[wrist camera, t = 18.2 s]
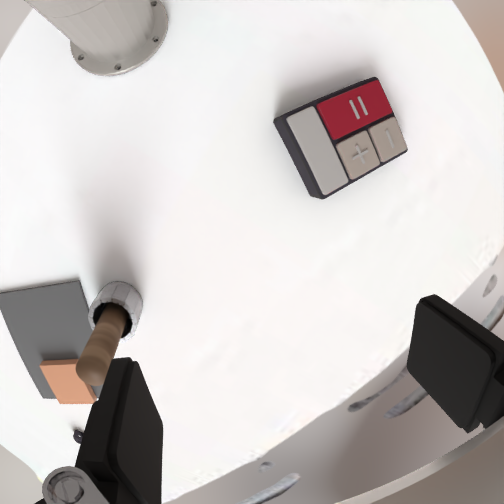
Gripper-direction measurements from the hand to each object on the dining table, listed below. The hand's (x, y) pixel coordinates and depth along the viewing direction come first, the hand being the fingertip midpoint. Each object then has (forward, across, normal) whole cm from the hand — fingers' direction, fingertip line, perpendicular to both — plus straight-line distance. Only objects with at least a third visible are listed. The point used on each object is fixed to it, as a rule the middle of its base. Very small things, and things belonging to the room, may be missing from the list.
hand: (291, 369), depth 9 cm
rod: (+29, +15, +10) cm, 34 cm away
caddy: (+30, +15, +10) cm, 35 cm away
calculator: (+31, -17, -8) cm, 36 cm away
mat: (+30, +28, +16) cm, 44 cm away
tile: (+29, +28, +18) cm, 44 cm away
